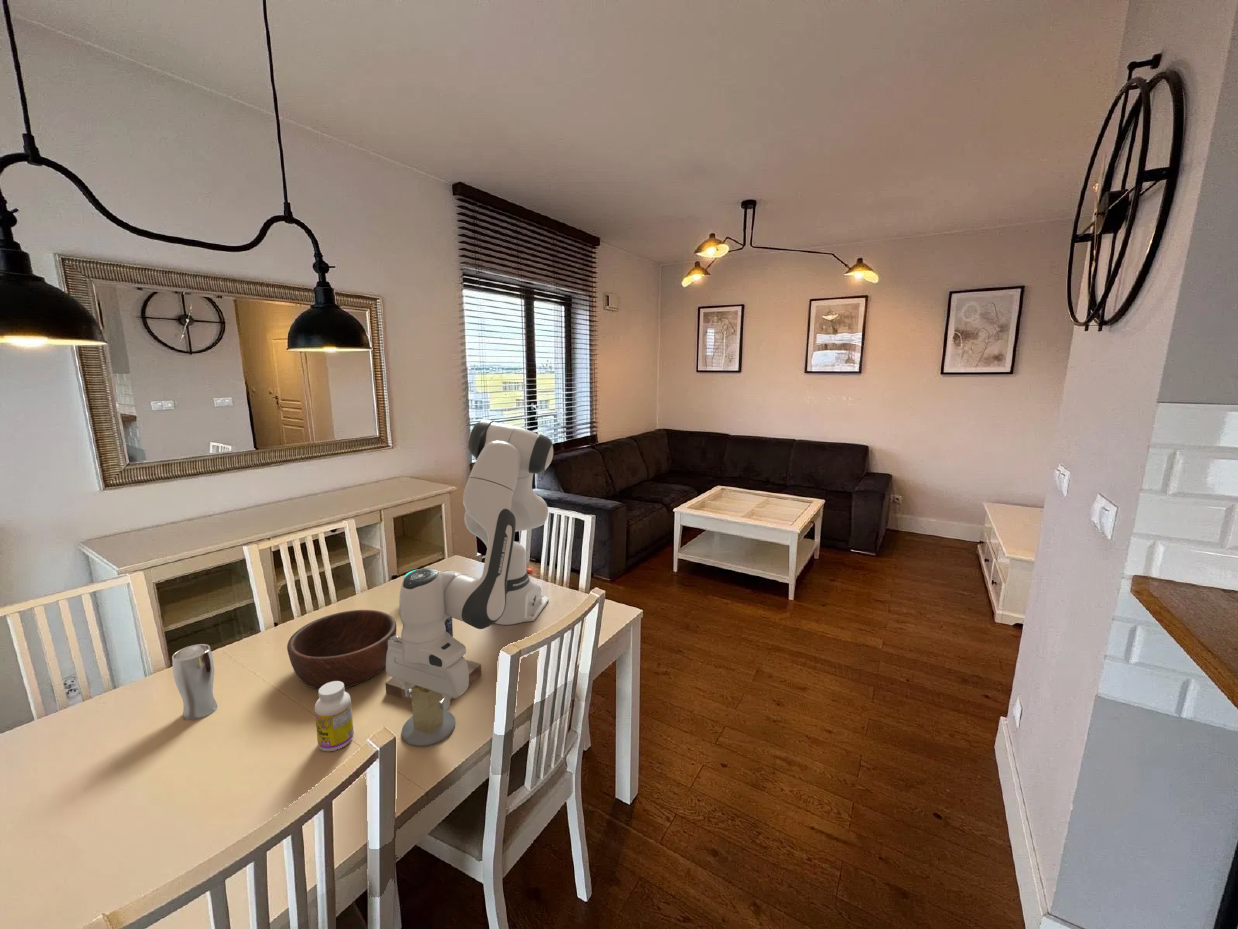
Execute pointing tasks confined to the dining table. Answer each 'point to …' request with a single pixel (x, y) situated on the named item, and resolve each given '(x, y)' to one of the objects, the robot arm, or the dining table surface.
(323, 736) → the supplement bottle
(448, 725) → the coaster
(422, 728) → the part
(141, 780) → the dining table surface
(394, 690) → the pocket
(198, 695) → the beer glass
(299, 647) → the wooden bowl
